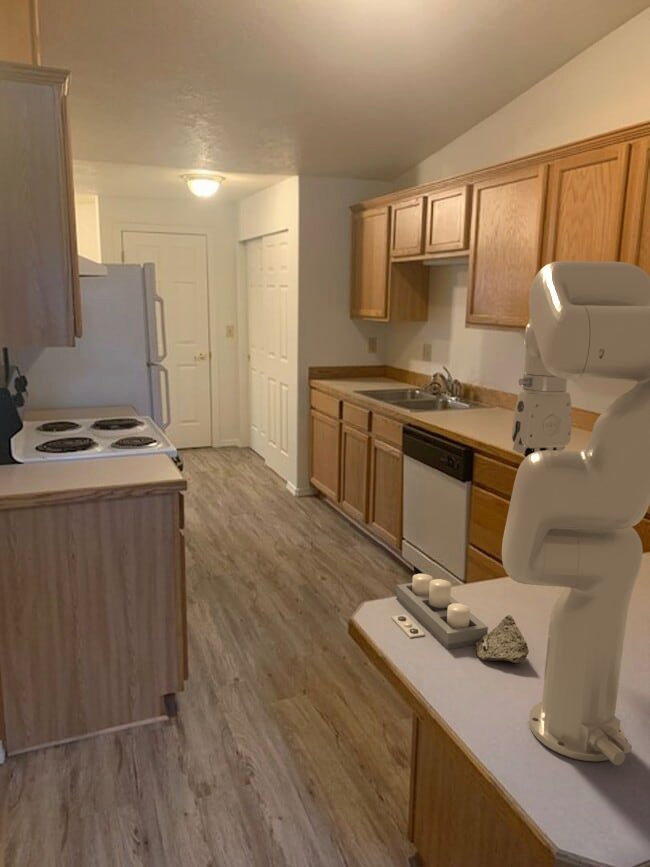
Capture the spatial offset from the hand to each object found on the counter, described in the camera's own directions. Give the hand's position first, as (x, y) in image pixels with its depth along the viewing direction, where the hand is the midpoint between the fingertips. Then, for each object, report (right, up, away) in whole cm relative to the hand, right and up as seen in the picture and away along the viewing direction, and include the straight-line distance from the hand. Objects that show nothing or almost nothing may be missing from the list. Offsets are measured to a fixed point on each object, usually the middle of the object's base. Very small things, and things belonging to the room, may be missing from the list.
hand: (536, 481), depth 121 cm
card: (-24, -27, 0) cm, 36 cm away
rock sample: (-9, -30, -10) cm, 32 cm away
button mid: (-18, -23, +3) cm, 29 cm away
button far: (-20, -24, +10) cm, 32 cm away
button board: (-18, -27, +3) cm, 32 cm away
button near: (-15, -26, -3) cm, 31 cm away
